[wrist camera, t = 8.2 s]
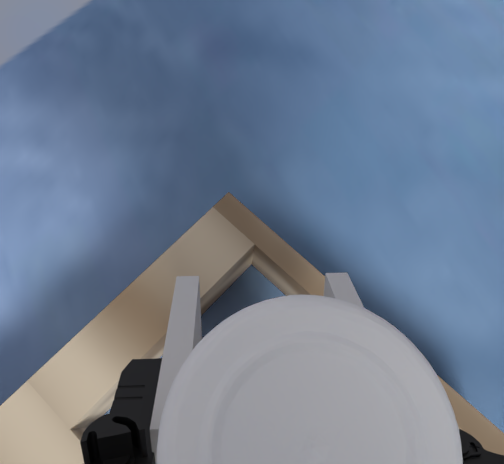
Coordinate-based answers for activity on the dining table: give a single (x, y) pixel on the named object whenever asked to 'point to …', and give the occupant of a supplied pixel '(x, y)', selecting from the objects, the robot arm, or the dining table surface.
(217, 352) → the sprinkles bottle
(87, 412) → the light wood rectangular frame
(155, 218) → the dining table surface
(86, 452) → the robot arm
